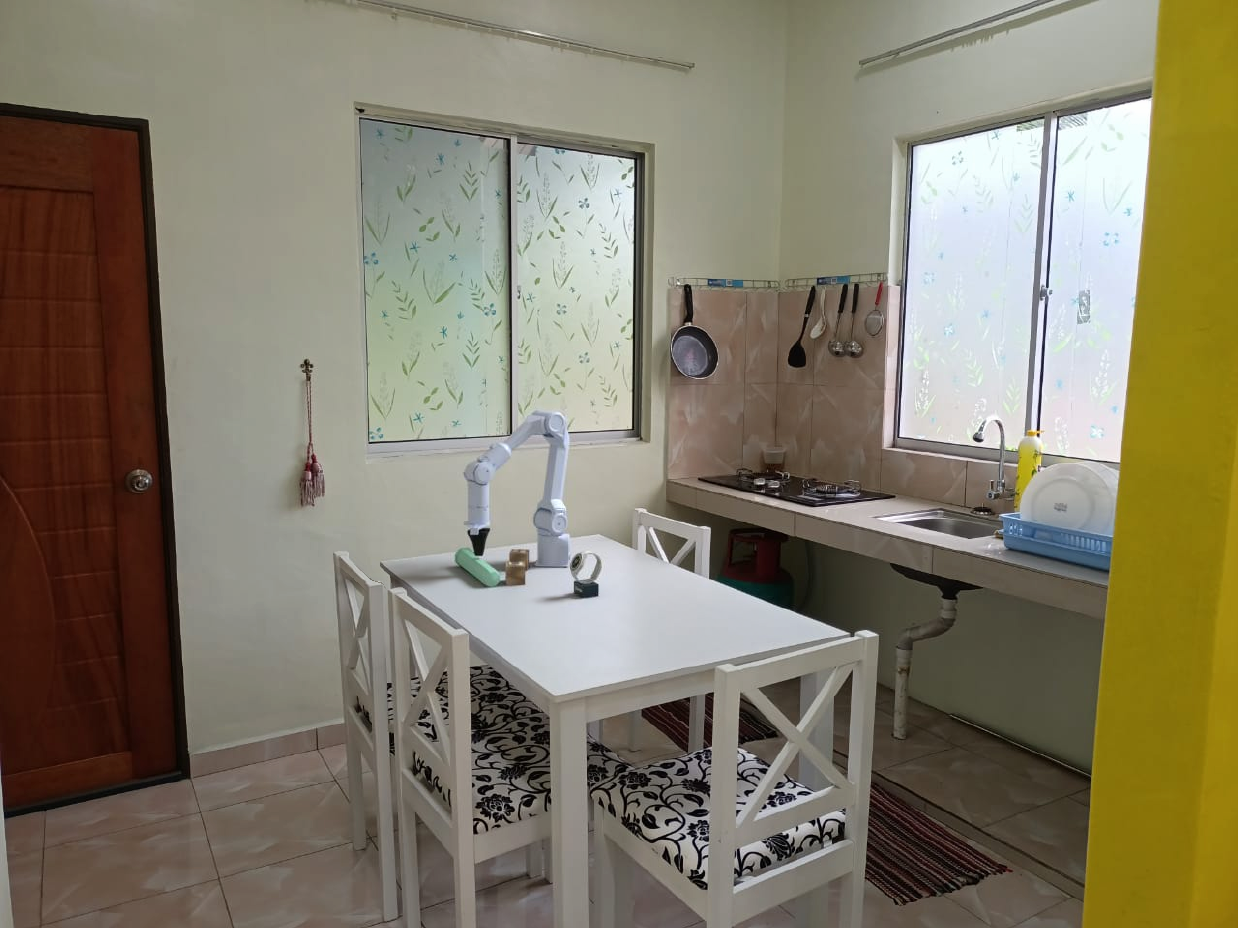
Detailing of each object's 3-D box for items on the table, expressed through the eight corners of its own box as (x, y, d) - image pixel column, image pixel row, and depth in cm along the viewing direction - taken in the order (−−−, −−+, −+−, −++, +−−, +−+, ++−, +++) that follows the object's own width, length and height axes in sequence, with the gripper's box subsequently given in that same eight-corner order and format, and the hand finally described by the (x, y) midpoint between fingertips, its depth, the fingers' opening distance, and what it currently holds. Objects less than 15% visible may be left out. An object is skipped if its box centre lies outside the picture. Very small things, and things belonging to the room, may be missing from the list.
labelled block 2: (524, 579, 243) (524, 560, 242) (525, 584, 238) (525, 565, 237) (505, 580, 242) (505, 560, 241) (506, 585, 237) (506, 565, 237)
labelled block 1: (529, 566, 257) (529, 548, 256) (527, 571, 252) (527, 552, 252) (511, 566, 257) (511, 548, 257) (509, 570, 252) (509, 552, 252)
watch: (566, 593, 230) (567, 551, 229) (595, 590, 234) (595, 548, 232) (575, 599, 225) (576, 556, 224) (604, 595, 229) (605, 552, 228)
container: (499, 564, 235) (469, 543, 257) (479, 575, 233) (450, 552, 255) (507, 584, 237) (477, 561, 259) (487, 594, 234) (458, 570, 256)
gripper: (468, 501, 252) (469, 548, 253) (458, 510, 237) (459, 561, 239) (494, 501, 252) (494, 549, 253) (485, 511, 237) (485, 562, 239)
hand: (479, 555), depth 246 cm, fingers closed
